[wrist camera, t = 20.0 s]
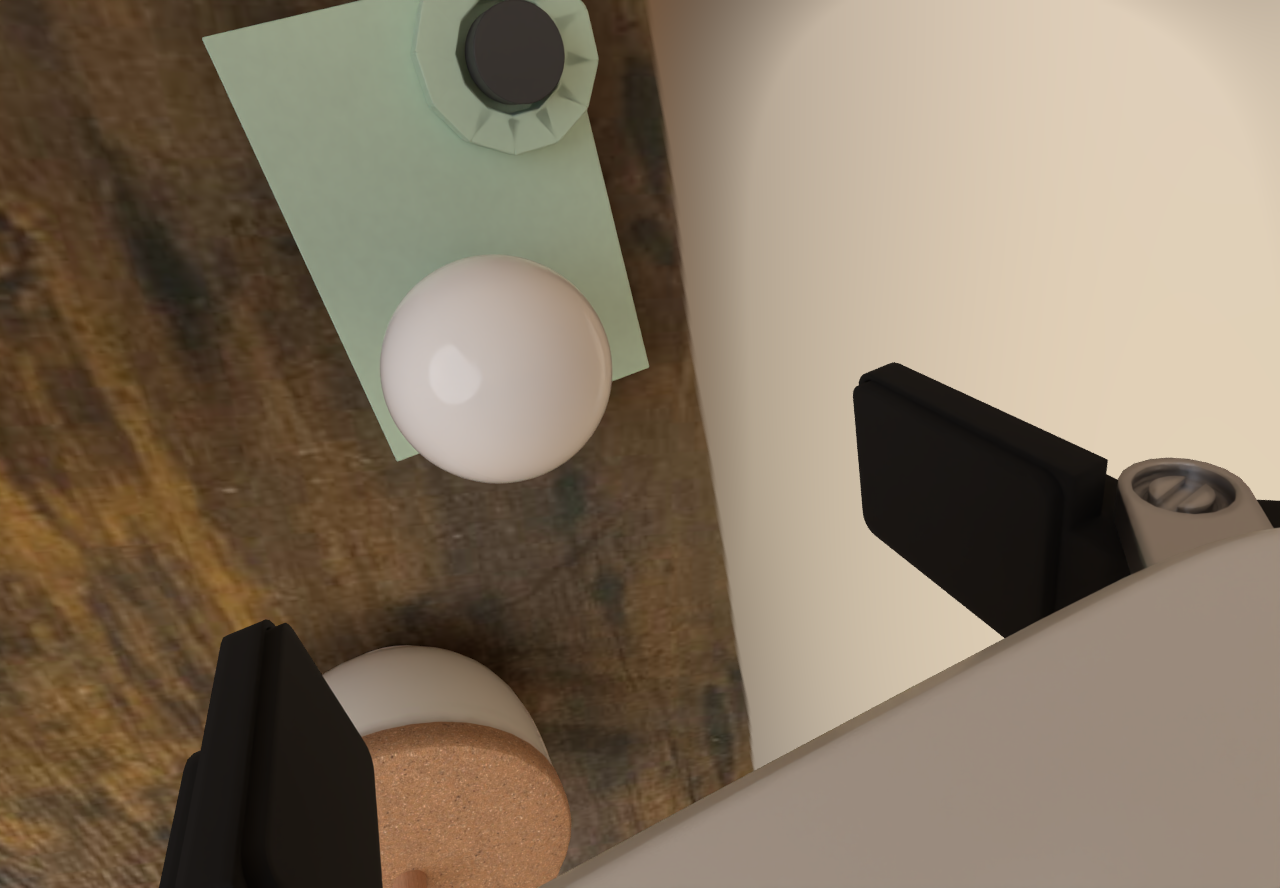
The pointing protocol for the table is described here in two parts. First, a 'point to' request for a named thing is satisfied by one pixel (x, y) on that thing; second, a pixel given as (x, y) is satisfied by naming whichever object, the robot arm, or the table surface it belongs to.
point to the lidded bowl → (454, 771)
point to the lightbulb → (496, 368)
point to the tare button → (515, 53)
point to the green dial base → (423, 163)
